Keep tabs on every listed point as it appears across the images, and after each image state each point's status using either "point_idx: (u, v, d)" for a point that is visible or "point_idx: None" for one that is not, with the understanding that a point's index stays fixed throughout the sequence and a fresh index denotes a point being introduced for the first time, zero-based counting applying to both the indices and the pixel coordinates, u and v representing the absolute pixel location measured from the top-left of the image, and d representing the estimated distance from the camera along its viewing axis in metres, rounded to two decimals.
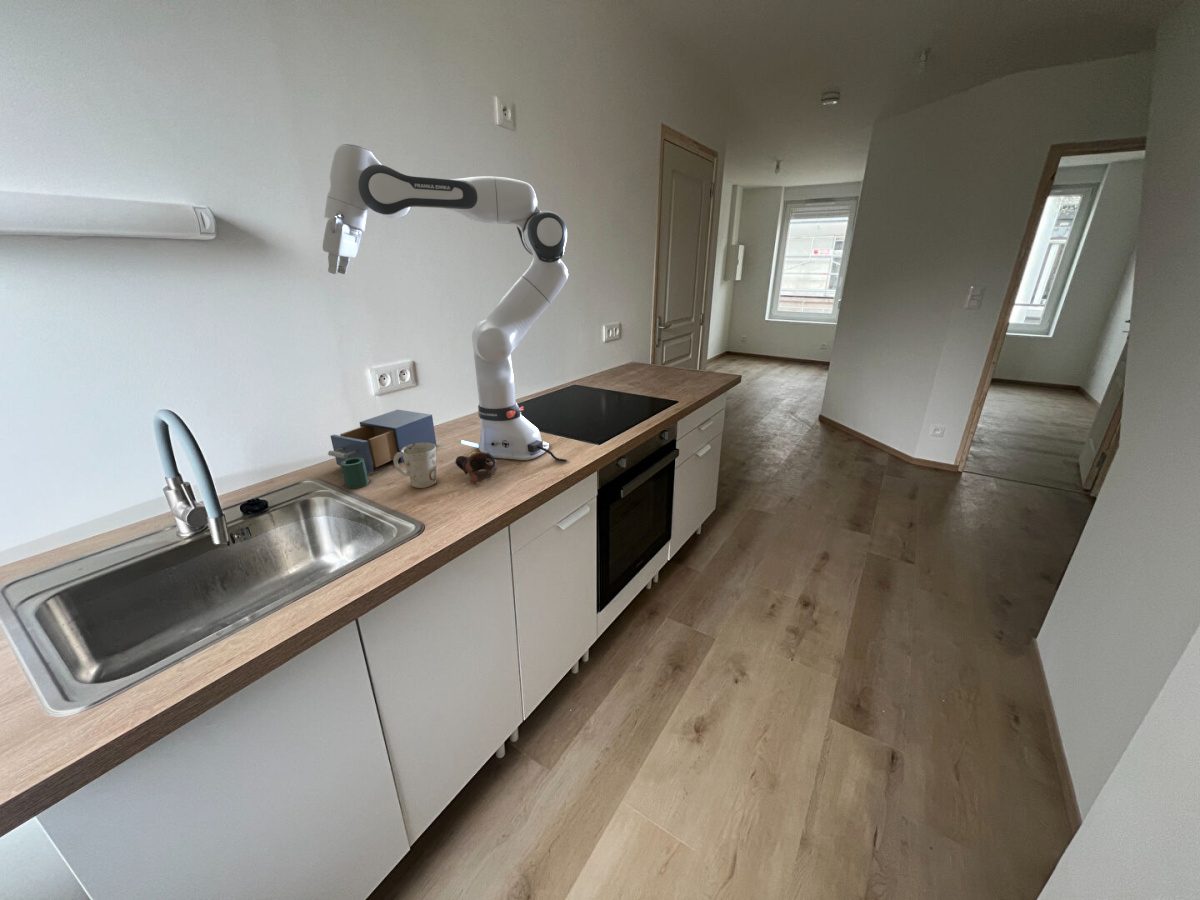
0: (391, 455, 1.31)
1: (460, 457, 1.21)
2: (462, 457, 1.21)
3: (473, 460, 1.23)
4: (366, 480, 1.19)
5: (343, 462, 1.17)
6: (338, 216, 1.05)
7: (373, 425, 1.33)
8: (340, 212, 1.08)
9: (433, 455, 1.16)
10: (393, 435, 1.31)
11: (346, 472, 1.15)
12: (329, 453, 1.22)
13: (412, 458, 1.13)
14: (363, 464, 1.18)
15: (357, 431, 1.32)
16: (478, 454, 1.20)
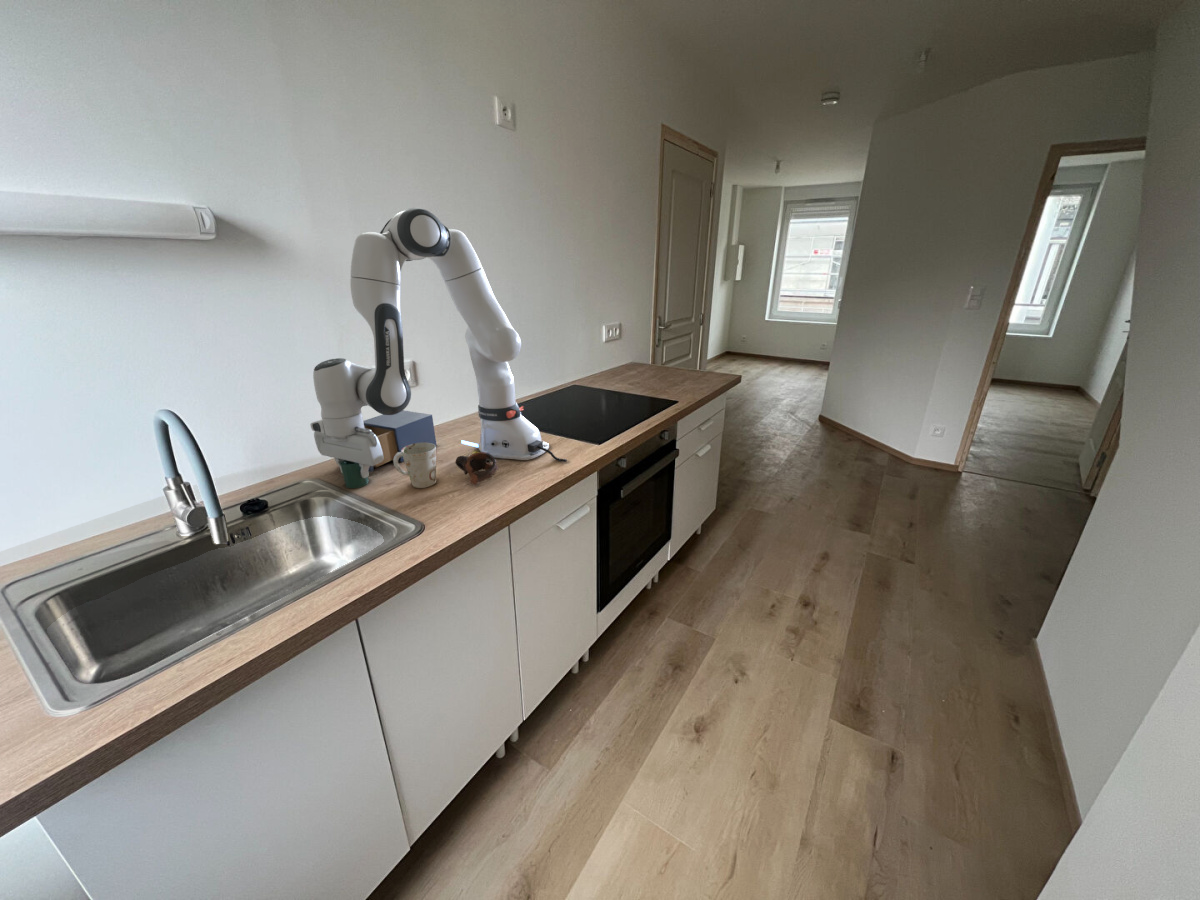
0: (391, 455, 1.31)
1: (460, 457, 1.21)
2: (462, 457, 1.21)
3: (473, 460, 1.23)
4: (366, 480, 1.19)
5: (343, 462, 1.16)
6: None
7: (373, 425, 1.33)
8: (354, 425, 1.11)
9: (433, 455, 1.16)
10: (393, 435, 1.31)
11: (346, 473, 1.15)
12: None
13: (412, 458, 1.13)
14: None
15: None
16: (478, 454, 1.20)
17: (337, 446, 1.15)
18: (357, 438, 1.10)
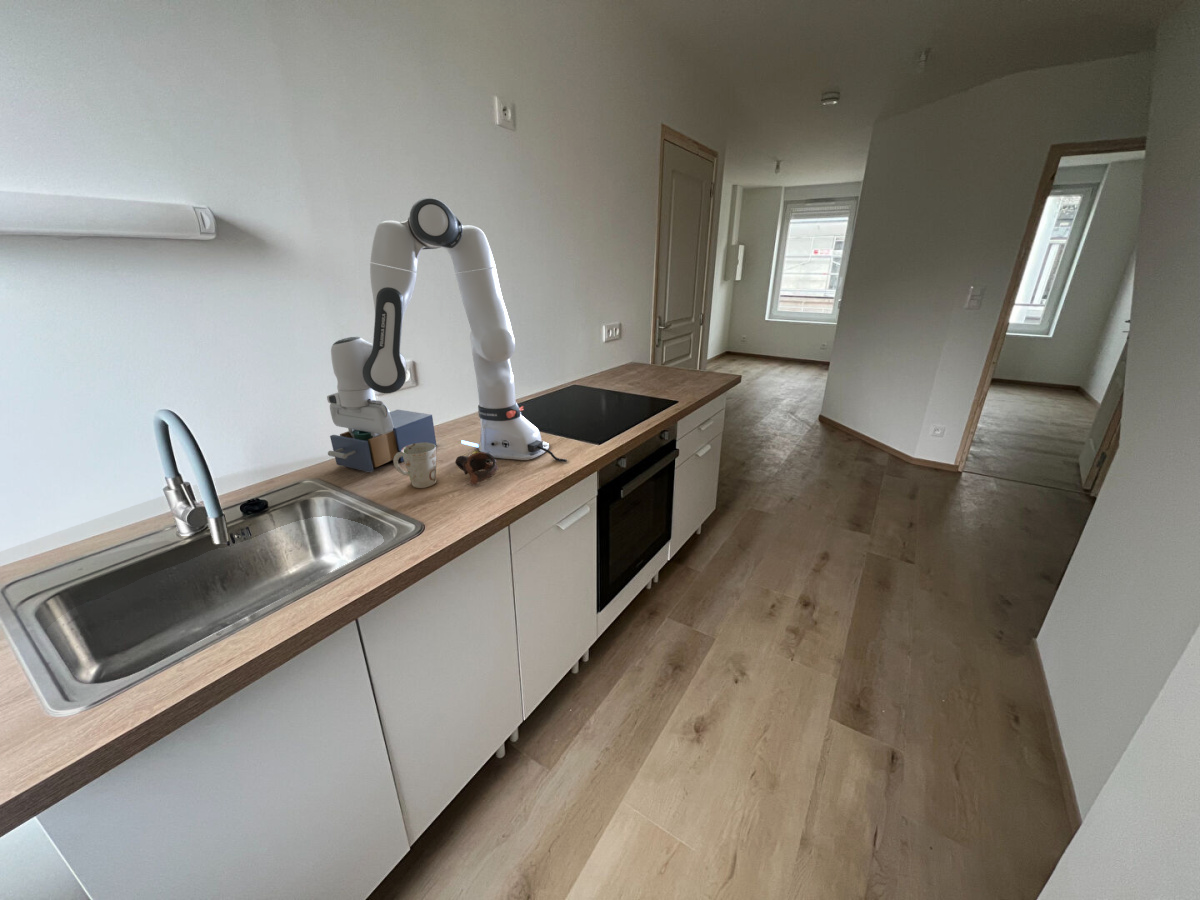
0: (391, 455, 1.31)
1: (460, 457, 1.21)
2: (462, 457, 1.21)
3: (473, 460, 1.23)
4: None
5: (356, 432, 1.28)
6: None
7: None
8: (367, 397, 1.23)
9: (433, 455, 1.16)
10: (393, 435, 1.31)
11: None
12: (329, 453, 1.22)
13: (412, 458, 1.13)
14: None
15: None
16: (478, 454, 1.20)
17: (351, 417, 1.26)
18: (370, 409, 1.22)
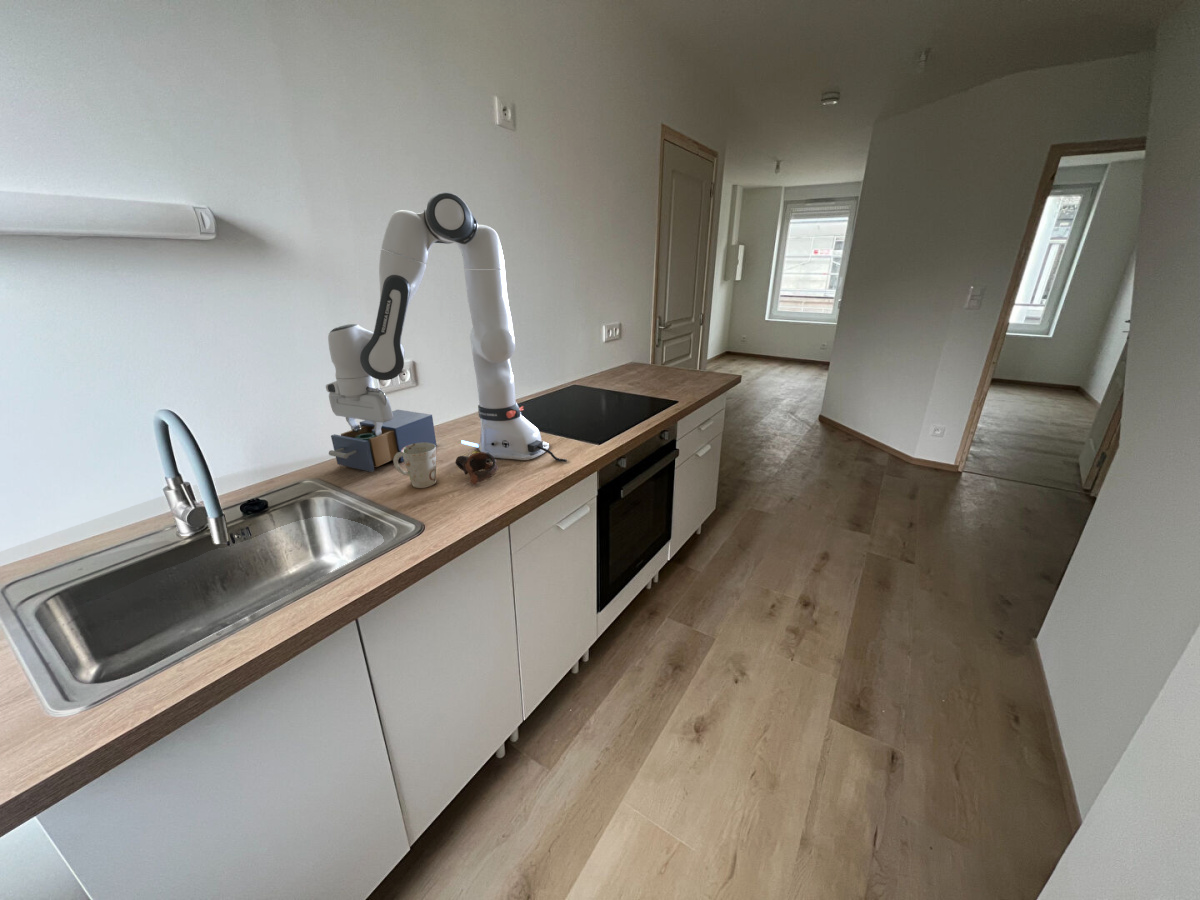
0: (391, 455, 1.31)
1: (460, 457, 1.21)
2: (462, 457, 1.21)
3: (473, 460, 1.23)
4: None
5: (357, 437, 1.29)
6: None
7: (373, 425, 1.33)
8: (366, 385, 1.22)
9: (433, 455, 1.16)
10: (393, 435, 1.31)
11: None
12: (330, 453, 1.22)
13: (412, 458, 1.13)
14: None
15: None
16: (478, 454, 1.20)
17: (350, 406, 1.25)
18: (369, 397, 1.21)
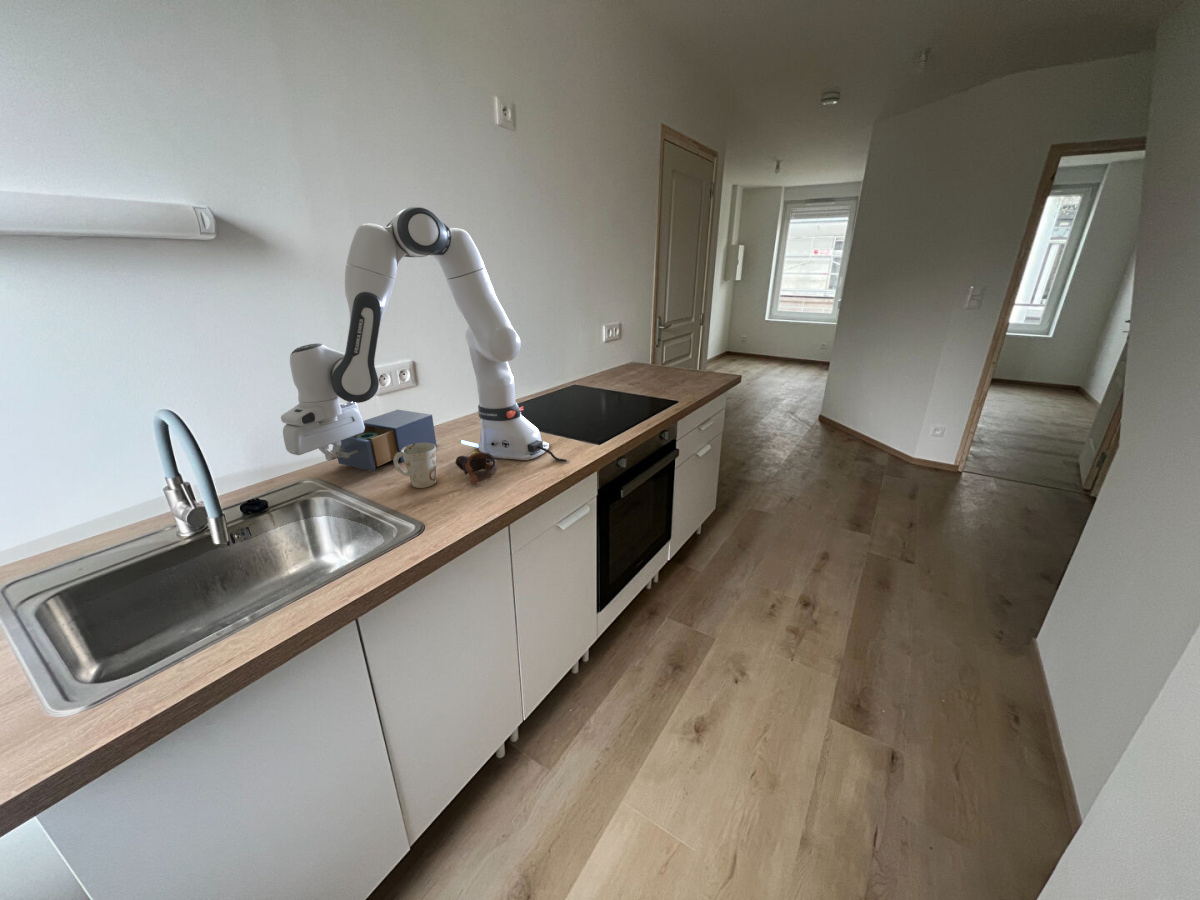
0: (393, 454, 1.31)
1: (460, 457, 1.21)
2: (462, 457, 1.21)
3: (473, 460, 1.23)
4: None
5: (359, 436, 1.29)
6: None
7: (373, 425, 1.33)
8: None
9: (433, 455, 1.16)
10: None
11: None
12: None
13: (412, 458, 1.13)
14: None
15: None
16: (478, 454, 1.20)
17: (324, 432, 1.15)
18: (349, 411, 1.21)
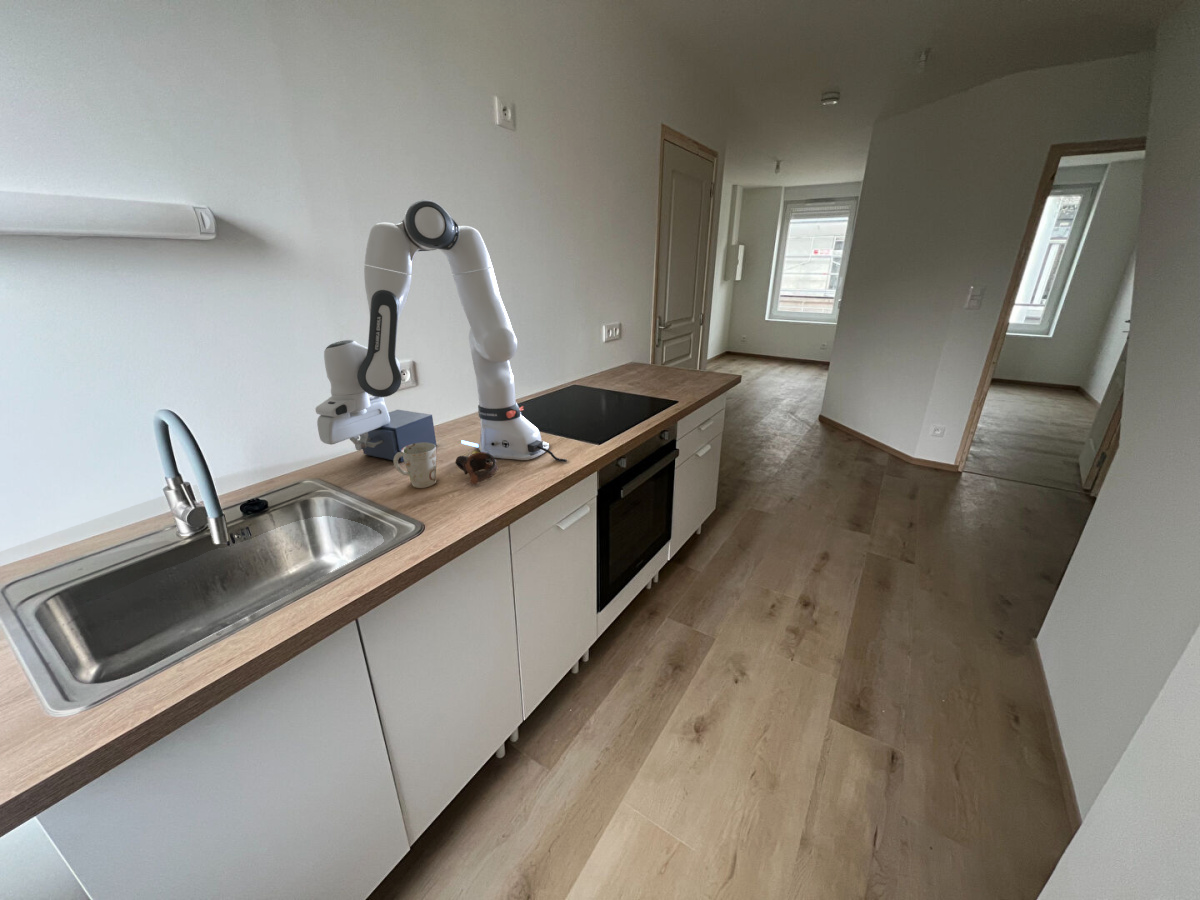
0: None
1: (460, 457, 1.21)
2: (462, 457, 1.21)
3: (473, 460, 1.23)
4: None
5: None
6: None
7: None
8: None
9: (433, 455, 1.16)
10: None
11: None
12: None
13: (412, 458, 1.13)
14: None
15: None
16: (478, 454, 1.20)
17: (354, 423, 1.23)
18: (376, 404, 1.29)
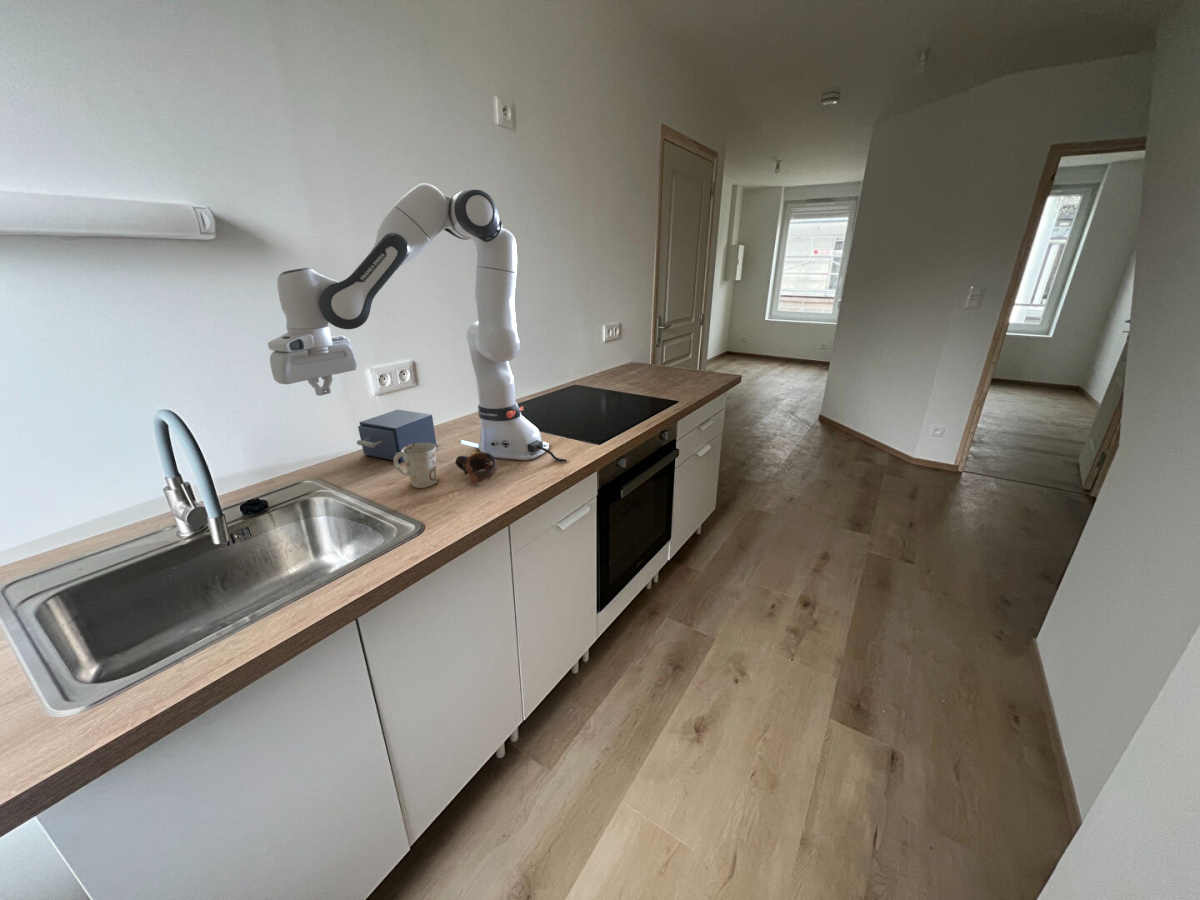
0: None
1: (460, 457, 1.21)
2: (462, 457, 1.21)
3: (473, 460, 1.23)
4: None
5: None
6: None
7: (373, 425, 1.33)
8: None
9: (433, 455, 1.16)
10: None
11: None
12: (358, 442, 1.30)
13: (412, 458, 1.13)
14: None
15: None
16: (478, 454, 1.20)
17: (313, 363, 1.11)
18: (340, 345, 1.16)
